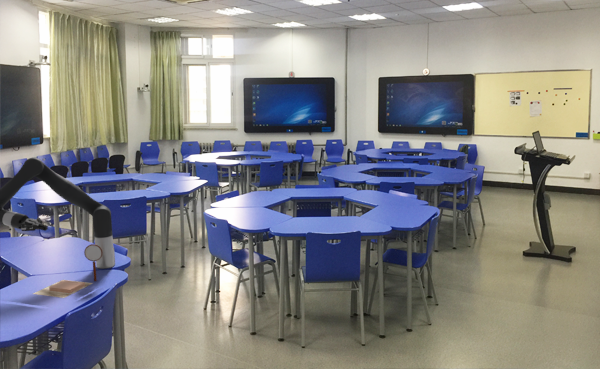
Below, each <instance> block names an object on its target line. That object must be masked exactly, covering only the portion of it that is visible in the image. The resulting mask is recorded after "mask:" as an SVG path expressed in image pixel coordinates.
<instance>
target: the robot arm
mask: <svg viewBox="0 0 600 369" xmlns="http://www.w3.org/2000/svg"><path fill="white" fill-rule="evenodd" d="M34 177H35V178H37V179H38V180H40V181H42V182H43V183H44V184H46V185H47V186H48V187H49V188H50V190H52V191H53V192H54V193H56V195H58V196H59V197H60V198H62V199H63V200H65V201H66V202H67V203H70V204H71V205H74V206H76V207H79V208H81V209H82V210H84V211H86V212H87V213H88V214H89V215H91V216H92V222H93V224H92V225H93V234H94V244H95V245H98V246H99V247H100V248H101V249H102V257H101V258H100V259H99V260H97V261H95V265H96V269H110V268H113V267H114V266H115V264H116V255H115V254H116V253H115V247H114V239H113V224H112V211H111V209H110V208H109V207H108V206H106V205H104V204H103V203H100V202H99V201H98V200H95V199H94V198H92V197H91V196H90V195H89V194H88V193H87V192H85V191H83V189H81V188H80V187H79V186H78V185H76V183H74V182H72V181H70V180H69V179H67V178H65V177H64V176H62V175H60V174H58V173H56V172H55V171H54V170H52V169H51V168H50V167H49V166H47V165H46V164H45V163H44V162H43V160H41V159H40V158H38V157H29V158H28V159H26V160H25V161H24V163H23V164H22V166H21V167H20V169H19V170H18V171H17V172H16V174H15V175H14V176H12V178H11V179H10V180H8V181H7V182H6V183H5V184H4V185H3V186H2V187H1V188H0V224H1V225H4V226H7V227H11V228H13V229H17V230H21V231H22V232H34V231H36V230H40V231H44V232H45V231H47V230H49V228H48V227H49V226H48V225H46V224H43V220H42V219H41V218H40V217H37V218H30V217H29V216H28V215H27V214H24V213H21V212H20V213H19V212H16V211H11V210H6V209H3V208H4V207H5V205H7V203H8V202H10V200H12V199H13V198H14V196H15V195H16V194H17V193H19V191H20V190H21V189H22V188H23V187H24V185H25V184H27V183H28V182H29V181H30V180H32V179H33V178H34Z"/></svg>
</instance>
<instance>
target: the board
mask: <svg viewBox="0 0 600 369" xmlns="http://www.w3.org/2000/svg"><path fill="white" fill-rule="evenodd" d="M64 280H65V279H62V280H60V281H57V282H55V283H53V284H51V285H49V286H47V287H45V288H43V289H39V290H38V291H36V292H34V293H32V295H38V296H46V297H47V296H48V297H53V298H61V299H65V298H67V297H69V296H71V295H73V294H75V293H77V292H79V291H80V290H83V289H85V288H87V287H89V286H90V285H92V284H94V282H86V281H83V282H84V283H85V287H83V288H81V289H79V290H77V291H75V292H73V293H71V294H68V293H60V292H52V291H49V287H51V286H53V285H55V284H57V283H59V282H61V281H64ZM66 280H67V279H66ZM67 281H71V280H67ZM74 281H75V282H79V281H77V280H74Z"/></svg>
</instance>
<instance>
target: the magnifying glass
mask: <svg viewBox="0 0 600 369" xmlns="http://www.w3.org/2000/svg"><path fill="white" fill-rule="evenodd" d="M83 252H84V257H85V258H86V260H88V261H91V262H92V268H93V270H92V271H93V282H97V281H98V280H97V266H96V261H97V260H99V259H100V258H101V257H102V249H101V248H100V247H99V246H98V245H95V243H93V244H89V245H87V246H86V247H85V249H84V251H83Z"/></svg>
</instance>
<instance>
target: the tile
mask: <svg viewBox="0 0 600 369" xmlns="http://www.w3.org/2000/svg"><path fill="white" fill-rule="evenodd" d="M63 280H64V281H61V280H60V281H61V282H59V281H58V282H59V283H57V282H56V283H57V284H55V283H54V284H55V285H53V284H52V285H53V286H51V287H49V291H52V292H60V293H68V294H71V293H73V292H75V291H77V290H79V289H81V288H83V287H85V283H84V282H85V281H78V282H75V281H76V280H70V281H67V279H63ZM85 288H86V287H85ZM83 289H84V288H83ZM81 290H82V289H81ZM79 291H80V290H79ZM77 292H78V291H77ZM75 293H76V292H75ZM73 294H74V293H73ZM71 295H72V294H71Z"/></svg>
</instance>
